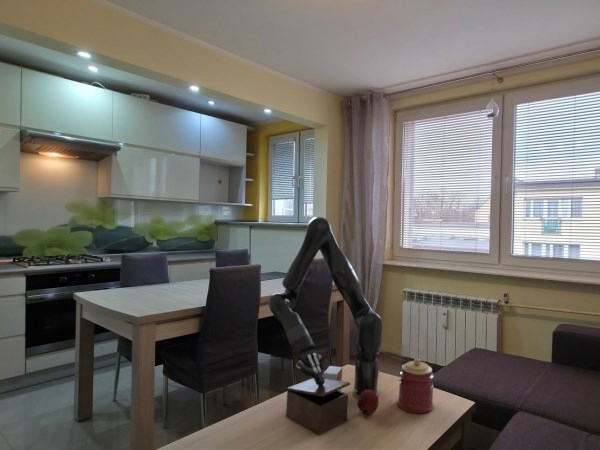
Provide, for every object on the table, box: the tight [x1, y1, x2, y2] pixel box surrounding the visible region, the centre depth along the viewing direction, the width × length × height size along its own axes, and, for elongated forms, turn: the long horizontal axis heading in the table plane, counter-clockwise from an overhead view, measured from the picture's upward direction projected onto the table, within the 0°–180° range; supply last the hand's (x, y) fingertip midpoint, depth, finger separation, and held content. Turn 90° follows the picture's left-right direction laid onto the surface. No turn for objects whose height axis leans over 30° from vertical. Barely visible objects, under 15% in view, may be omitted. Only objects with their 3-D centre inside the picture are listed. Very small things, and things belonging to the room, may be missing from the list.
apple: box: [356, 390, 379, 415], centre depth 136 cm, size 7×8×8 cm
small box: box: [322, 365, 343, 391], centre depth 147 cm, size 8×6×10 cm
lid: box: [287, 377, 351, 397], centre depth 130 cm, size 18×13×1 cm
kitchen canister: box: [397, 358, 435, 414], centre depth 143 cm, size 13×13×18 cm
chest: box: [285, 389, 349, 435], centre depth 130 cm, size 17×13×9 cm
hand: (321, 384), depth 129 cm, fingers closed
